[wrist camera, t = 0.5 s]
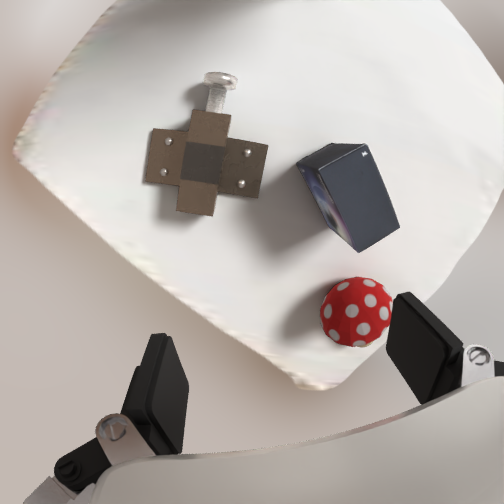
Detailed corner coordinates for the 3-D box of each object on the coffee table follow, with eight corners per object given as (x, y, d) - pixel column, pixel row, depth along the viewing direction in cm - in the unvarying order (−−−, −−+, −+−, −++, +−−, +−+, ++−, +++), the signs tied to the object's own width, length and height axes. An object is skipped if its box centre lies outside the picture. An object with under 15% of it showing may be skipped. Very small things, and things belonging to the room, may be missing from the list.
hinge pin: (206, 78, 31) (203, 70, 27) (237, 83, 31) (238, 75, 27) (187, 178, 35) (181, 181, 31) (217, 183, 36) (215, 186, 32)
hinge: (158, 110, 32) (149, 105, 28) (271, 126, 34) (276, 123, 30) (144, 199, 36) (134, 205, 31) (253, 215, 38) (256, 223, 33)
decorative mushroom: (391, 370, 39) (390, 334, 29) (328, 367, 45) (304, 332, 35) (396, 311, 45) (392, 259, 36) (338, 312, 51) (319, 263, 41)
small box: (292, 163, 36) (315, 168, 26) (332, 141, 35) (367, 139, 25) (327, 229, 39) (357, 256, 29) (364, 207, 38) (403, 227, 29)
